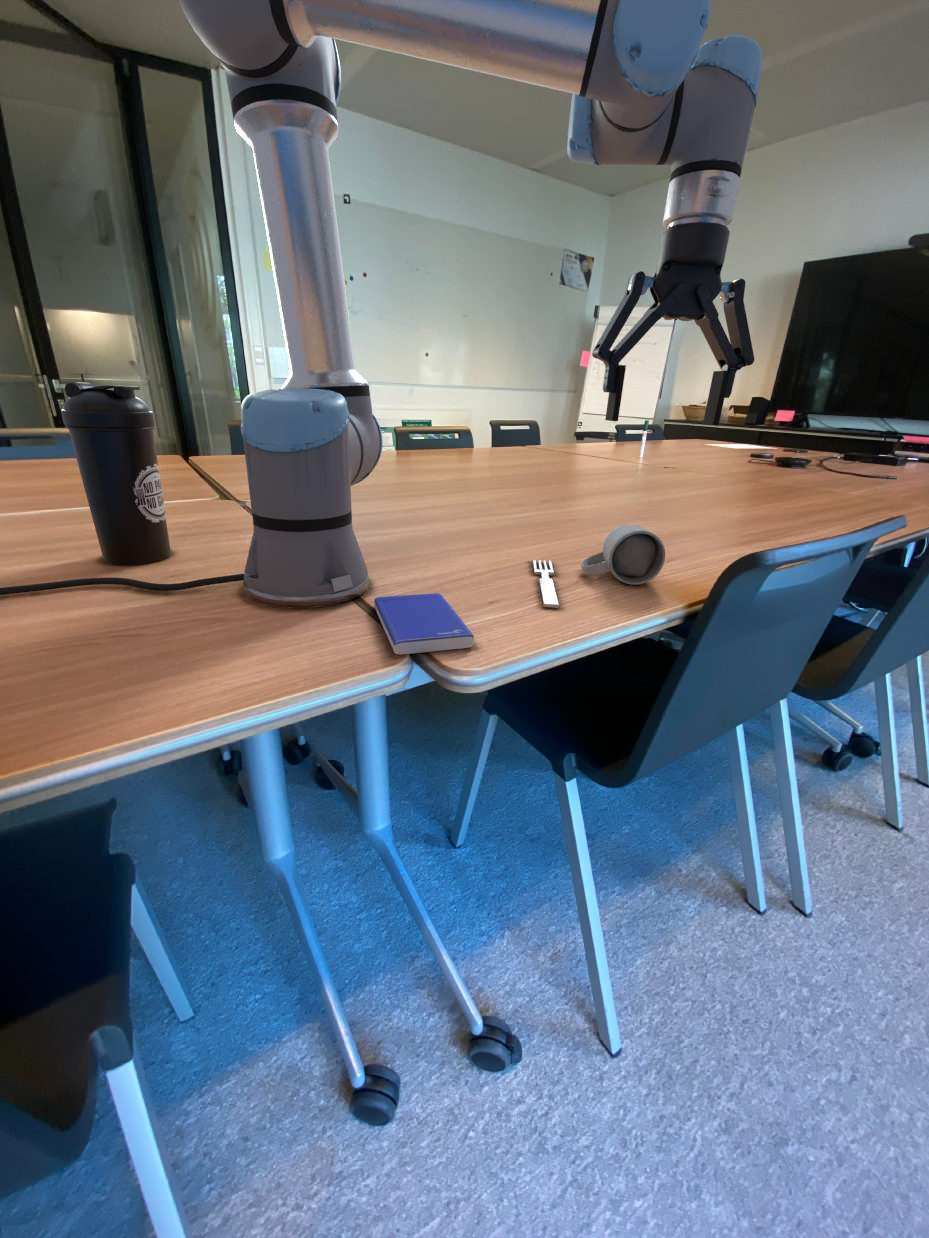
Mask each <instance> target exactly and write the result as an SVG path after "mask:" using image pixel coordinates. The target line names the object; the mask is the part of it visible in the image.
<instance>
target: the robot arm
mask: <svg viewBox="0 0 929 1238" xmlns="http://www.w3.org/2000/svg"><path fill="white" fill-rule="evenodd" d="M178 2H179V4H180V7H181V9H182V12H183V13H184V16H185V17H186V20H187V21H188V23H189V24H190V26H191V28H192V29H193V31H194V33H195V34H196V35H197V36H198V38H199V39H200V40H201V41H202V43H203V44H204V46H206V48H207V49H208V50H209V51H210V52H211V54H212V55H213V56H214V57H215V59H216V60H217V61H218V62H219V63H220V64H221V65H222V68H223V70H224V75H225V79H226V84H227V90H228V96H229V101H230V102H229V103H230V108H231V112H232V118H233V124H234V127H235V130H236V132H237V134H239V135H240V137H241V138H243V140H244V141H245V142H246V143H247V144H248V145H249V146H250V147H251V148H252V155H253V159H254V165H255V171H256V177H257V182H258V188H259V194H260V195H259V196H260V201H261V207H262V212H263V218H264V224H265V231H266V237H267V242H268V247H269V253H270V254H269V255H270V260H271V266H272V272H273V278H274V283H275V289H276V294H277V295H276V296H277V301H278V306H279V307H278V308H279V313H280V319H281V325H282V330H283V337H284V342H285V349H286V354H287V361H288V365H289V366H288V367H289V377H288V378H287V379H286V380H285V382H284V383H283V385H282V386H281V388H279V389H272V388H271V389H263V390H257V391H255V392H252V393H250V394H248V395H246V396H245V397H244V399H242V402H241V405H240V411H241V412H240V413H241V414H240V415H241V424H240V434H241V437H242V441H243V442H242V443H243V451H244V459H245V466H246V475H247V483H248V491H249V492H248V493H249V500H250V508H251V516H252V524H253V526H252V527H253V531H252V537H251V541H250V545H249V550H248V554H247V558H246V562H245V567H244V570H243V573H237V574H229V575H221V576H213V577H206V578H201V579H195V580H190V581H184V582H177V583H156V582H155V583H154V582H149V581H148V582H147V581H142V580H138V579H132V578H126V577H115V576H114V577H113V576H112V577H109V576H108V577H86V578H73V579H65V580H57V581H50V582H41V583H31V584H21V585H13V586H3V587H0V596H4V595H5V596H7V595H15V594H22V593H23V594H24V593H32V592H33V593H34V592H42V591H51V590H58V589H67V588H76V587H84V586H96V585H97V586H98V585H99V586H100V585H116V586H117V585H118V586H126V587H133V588H138V589H143V590H147V591H148V590H149V591H154V592H155V591H158V592H175V591H176V592H177V591H184V590H190V589H195V588H200V587H207V586H212V585H213V586H214V585H220V584H227V583H235V582H243V586H244V587H243V588H244V593H245V595H246V597H248V598H249V599H251V600H252V601H254V602H257V603H259V604H263V605H267V606H271V607H278V608H286V609H287V608H290V609H307V608H309V609H310V608H320V607H321V608H322V607H326V606H327V607H328V606H334V605H338V604H342V603H345V602H348V601H352V600H353V599H356V598H358V597H360V596H361V595H363V594H365V592H366V591H367V590H368V589H369V572H368V567H367V564H366V562H365V561H366V560H365V558H364V556H363V553H362V549H361V547H360V545H359V542H358V539H357V537H356V534H355V532H354V529H353V513H352V512H353V511H352V487H353V486H355V485H357V484H359V483H361V482H363V481H364V480H366V479H367V478H368V477H369V476H370V475H371V474H372V472H373V471H374V469H375V468H376V466H378V465H377V464H378V463H379V462H380V459H381V456H382V452H383V447H384V446H383V445H384V443H383V442H384V441H383V440H384V439H383V433H382V429H381V427H380V424H379V422H378V419H377V418H376V416H375V414H374V413H373V406H372V398H371V390H370V384H369V382H368V381H367V380H366V379H365V378H364V377H363V376H362V375H361V374H359V372H358V371H357V368H356V361H355V353H354V345H353V337H352V328H351V321H350V313H349V304H348V296H347V290H346V281H345V280H346V279H345V274H344V265H343V257H342V249H341V242H340V234H339V226H338V225H339V224H338V217H337V208H336V203H335V202H336V201H335V194H334V186H333V178H332V170H331V162H330V153H329V149H330V148H331V146H332V145H333V143H334V142H335V140H336V139H337V137H338V136H339V133H340V131H339V120H338V112H337V111H338V110H337V106H338V103H339V100H340V95H341V90H342V89H341V88H342V69H341V62H340V57H339V52H338V47H337V43H336V40H339V41H341V42H342V41H343V42H347V43H352V44H356V45H360V46H365V47H369V48H373V49H376V50H377V49H378V50H381V51H387V52H391V53H395V54H398V55H399V54H400V55H404V56H408V57H412V58H417V59H420V60H425V61H430V62H433V63H439V64H442V65H447V66H451V67H456V68H459V69H460V68H461V69H464V70H467V71H468V70H469V71H474V72H477V73H480V74H481V73H482V74H485V75H486V74H487V75H490V76H495V77H499V78H503V79H508V80H511V81H512V80H513V81H516V82H520V83H526V84H528V85H529V84H530V85H534V86H538V87H542V88H548V89H550V90H551V89H552V90H556V91H560V92H564V93H568V94H572V95H571V101H570V102H571V103H570V110H569V121H568V131H567V143H566V144H567V146H566V150H567V151H566V152H567V156H568V158H569V159H570V160H571V162H575V163H581V164H588V165H593V166H594V167H595V166H596V167H599V166H601V165H618V166H619V165H620V166H621V165H622V166H623V165H624V166H625V165H626V166H627V165H628V166H630V165H632V166H633V165H635V166H638V165H639V166H641V165H645V166H646V165H650V166H670V175H669V176H670V177H669V183H668V187H667V188H668V189H667V196H666V201H665V206H664V213H663V219H662V226H663V227H664V228H665V230H663V232H662V233H661V234H660V240H659V245H658V252H657V258H656V266H655V267H656V268H655V272H654V274H653V276H649V275H646V273H645V272H644V271H642V270H641V271H638V272H636V273H634V274H632V275H630V276H629V277H628V279H627V282H626V287H625V291H624V295H623V297H622V299H621V300H620V302H619V304H618V306H617V308H616V309H615V311H614V313H613V315H612V316H611V318H610V320H609V322H608V323H607V325H606V327H605V329H604V330H603V332H602V334H601V336H600V337H599V339H598V341H597V343H596V344H595V346H594V348H593V349H592V353H591V356H592V358H593V359H597V360H599V361H601V362H603V364H604V369H605V370H604V375H603V381H602V382H603V383H602V391H603V393H608V397H607V405H606V412H605V419H604V420H605V421H609V422H619V417H620V410H621V405H622V404H621V403H622V395H623V389H624V382H625V376H626V368H627V365H626V364H620V363H621V361H623V359H624V358H625V357H626V356H627V355H628V354H629V353H630V352H631V350H633V349H634V348H635V346H636V345H637V344H638V343H639V342H640V341H641V340H642V339H643V338H644V336H645V335H646V334H647V333H648V332H649V331H650V330H651V329H652V328H653V326H654V325H656V323H657V322H658V321H659V320H661V319H662V318H663V319H664V321H672V320H679V321H682V322H690V321H694V322H695V324H696V326H699V328H700V330H701V332H702V334H703V336H704V339H705V340H706V342H707V345H708V346H709V348H710V350H711V352H712V354H713V356H714V359H715V360H716V362H717V364H718V366H719V369H720V370H713V373H712V378H711V382H710V388H709V391H708V397H707V401H706V407H705V411H704V417H703V421H702V425H707V426H719V425H720V421H721V416H722V412H723V407H724V402H725V399H730V397H731V395H732V392H733V387H734V384H735V383H734V382H735V378H736V373H737V371H740V370H742V368H745V367H748V366H749V367H750V366H752V365H753V364H754V362H755V354H754V349H753V344H752V338H751V333H750V327H749V322H748V317H747V311H746V306H745V302H744V298H745V290H746V280H745V279H744V278H739V279H735V280H732V281H722V279H721V274H722V273H721V272H722V269H723V266H724V263H725V259H726V254H727V249H728V244H729V238H730V235H731V234H730V229H729V227H728V226H729V225H730V224H731V223H732V221H733V217H734V212H735V207H736V202H737V196H738V193H739V187H740V183H741V182H740V181H741V176H742V175H741V174H742V170H743V164H744V160H745V156H746V151H747V147H748V141H749V136H750V132H751V127H752V123H753V118H754V114H755V109H756V107H757V104H758V93H759V87H760V81H761V73H762V63H763V53H762V49H761V47H760V44H759V43H758V42H757V41H756V40H754V39H753V38H751V37H749V36H746V35H742V34H741V35H740V34H729V35H726V36H724V37H723V38H712V39H710V40H707V41H706V42H704V43H703V44H702V42H703V39H704V37H705V34H706V32H707V30H708V28H709V27H708V25H709V20H710V13H711V0H178ZM648 289H649V292H650V295H651V297H652V299H653V301H654V302H653V303H652V304H651V305H650V306H649V308H648V309H646V311H644V313H643V315H642V316H641V318H640V319H639V320H638V321H637V322H636V323H635V324H634V325H633V326H632V327H631V329H630V330H629V331H628V332H627V333H626V334H624V335H625V336H623V337H622V338H621V340H619V342H617V344H616V345H615V347H613V345H614V343H615V342H616V340H617V338H618V337H619V335H620V333H621V331H622V329H623V328H624V326H625V324H626V323H627V321H628V320H629V317H630V316H631V314H632V313H633V310H634V309H635V307H636V306H637V304H638V302H639V300H640V299H641V297H642V296H644V295H646V293H647V290H648ZM718 296H720V297H719V300H720V301H721V302H722V304H723V305H722V306H723V313H724V318H725V322H726V323H725V324H726V327H727V333H728V336H727V333H726V331H725V329H724V326H723V325H722V323H721V321H720V319H719V312H718V309H717V308H716V305H715V303H714V301H715V300H716V298H717V297H718ZM612 347H613V348H612ZM611 348H612V350H611Z"/></svg>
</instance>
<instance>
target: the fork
mask: <svg viewBox="0 0 929 1238" xmlns="http://www.w3.org/2000/svg"><path fill="white" fill-rule="evenodd" d="M532 567H533V573H534V575H536V576H540V578H539V579H538V582H539V586H540V593H541V599H542V605H543V608H548V609H549V608H552V609H559V608H560V607H559V606H560V604H559V599H558V597H557V596H558V595H557V593H556V588H555V584H554V581H553V578H550V576H551V577H553V576H554V575H555V571H554V568H553V564H552V561H551V560H548V562H547V561H546V560H541V559H538V560H536V559H533V560H532Z"/></svg>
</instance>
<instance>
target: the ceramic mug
mask: <svg viewBox="0 0 929 1238" xmlns="http://www.w3.org/2000/svg"><path fill="white" fill-rule="evenodd" d="M665 560H666V549H665V545H664V543H663V541H662V540H661V538H660V537H659V536H657V535H656V534H655V533H653V532H652V531H650V530H647V529H645V528H644V527H642V526H640V525H636V524H623V525H620V526H617V527H615V528H614V529H612V530H611V531H610V532H609V533H608V534H607V536H606V537H605V540H604V542H603V546H602V551H601V552H597V553H595V554H593V555H591V556H588V557H587V558H586V559H584V560H583V561H582V562H581V564H580V565H581V570H582V573H583V575H585V576H589V577H592V576H598V575H603V574H607V573H611V574H612V575H613V577H614V578H615V579H616V580H618V581H619V582H621V583H622V584H625V585H631V586H639V585H643V584H646V583H648V582H650V581H652V580H653V579H655V578H656V577H657V576H658V575H659V573H660V572H661V570H662V569H663V567H664V565H665Z"/></svg>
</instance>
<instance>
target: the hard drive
mask: <svg viewBox="0 0 929 1238" xmlns="http://www.w3.org/2000/svg"><path fill="white" fill-rule="evenodd" d="M373 603H374V605H373V606H374V609H375V612H376V614H377V616H378V619H379V621H380V623H381V626H382V627H383V631H384V632H385V635H386V637H387V639H388V641H389V643H390V646H391V649H392V650H393V653H394V654H395V655H410V654H420V653H429V652H430V653H432V652H439V651H441V652H442V651H450V650H451V651H452V650H461V649H469V648H472V647H473V646H474V645H475V643H474V642H475V636H474V634H473V633H472V631H471V630H470V629H469V628H468V626H467V625H466V624H465V623H464V621H463V620H462V619H461V618H460V616H459V615H458V613H456V611H455V609H453V607H452V606H451V604H449V602H448V601H447V600H446V598H445V597H444V596H443V595H442V593H438V592H436V593H421V594H420V593H418V594H407V595H391V596H390V595H388V596H378V597H375V598H374V599H373Z"/></svg>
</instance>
